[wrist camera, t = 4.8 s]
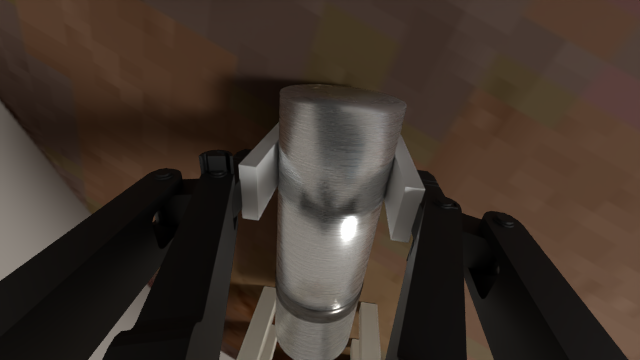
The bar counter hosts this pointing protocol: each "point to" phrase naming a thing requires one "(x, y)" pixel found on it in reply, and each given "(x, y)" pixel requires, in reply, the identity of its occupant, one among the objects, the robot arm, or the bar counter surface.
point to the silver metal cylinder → (328, 209)
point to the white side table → (263, 337)
